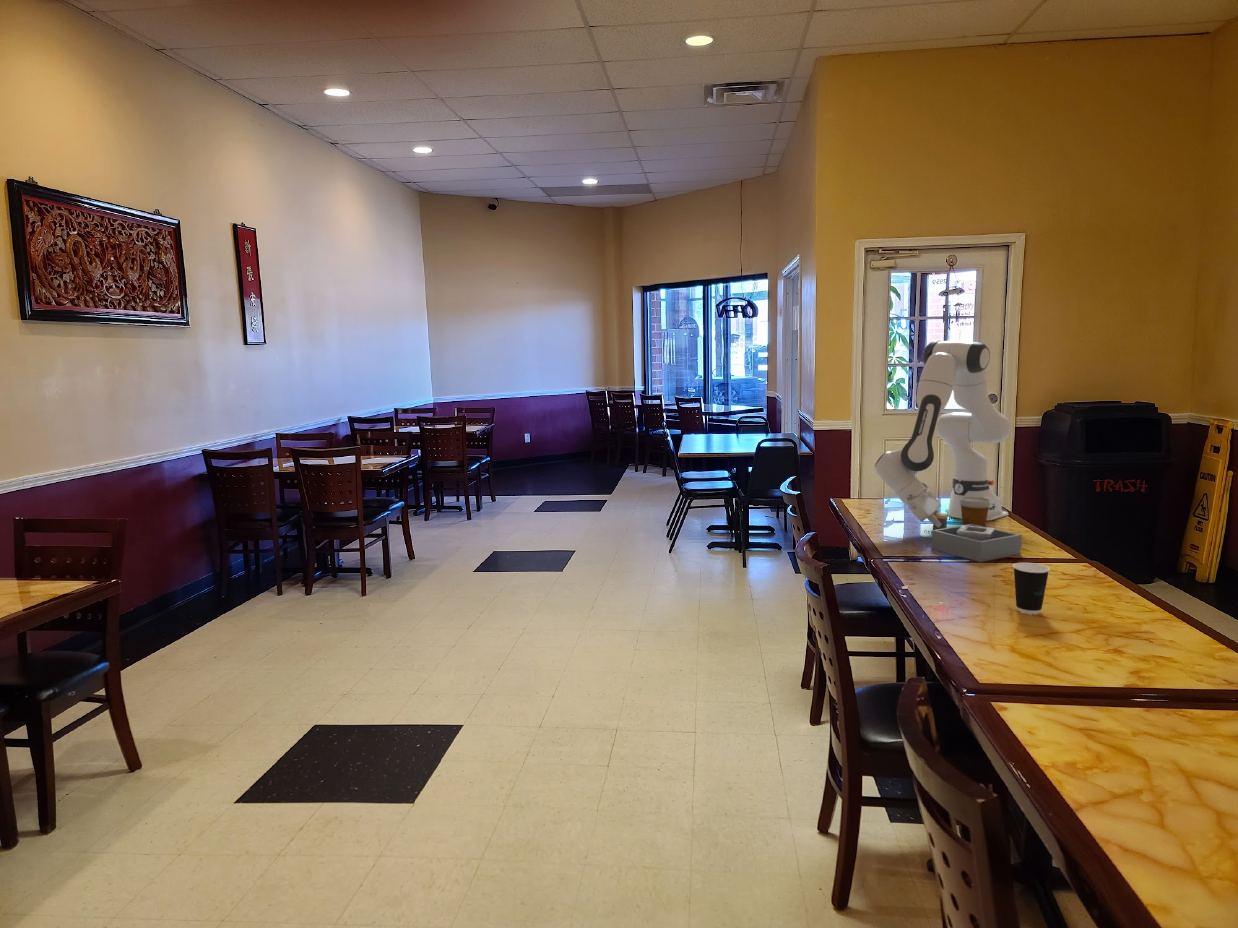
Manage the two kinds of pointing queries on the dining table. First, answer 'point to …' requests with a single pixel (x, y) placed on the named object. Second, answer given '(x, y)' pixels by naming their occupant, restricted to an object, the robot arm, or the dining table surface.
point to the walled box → (976, 544)
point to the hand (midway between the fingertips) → (942, 524)
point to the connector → (942, 518)
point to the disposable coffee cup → (974, 510)
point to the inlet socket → (976, 532)
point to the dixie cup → (1030, 586)
